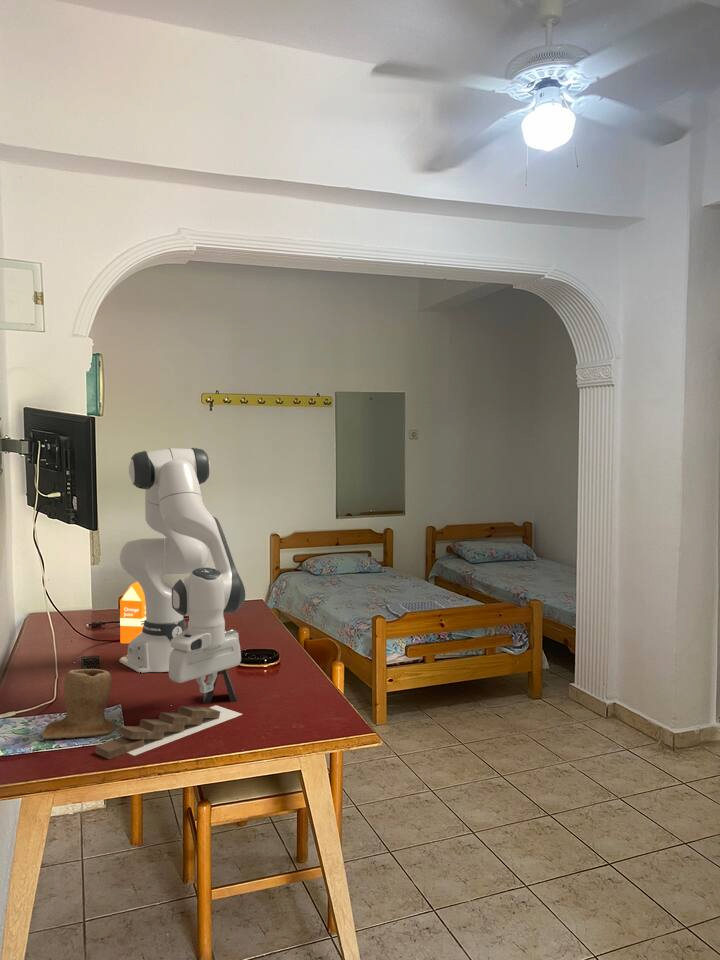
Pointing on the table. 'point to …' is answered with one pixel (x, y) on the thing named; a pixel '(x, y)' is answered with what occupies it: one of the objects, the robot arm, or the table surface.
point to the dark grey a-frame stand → (208, 695)
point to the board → (187, 730)
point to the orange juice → (132, 613)
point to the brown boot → (83, 706)
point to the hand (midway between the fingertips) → (206, 691)
